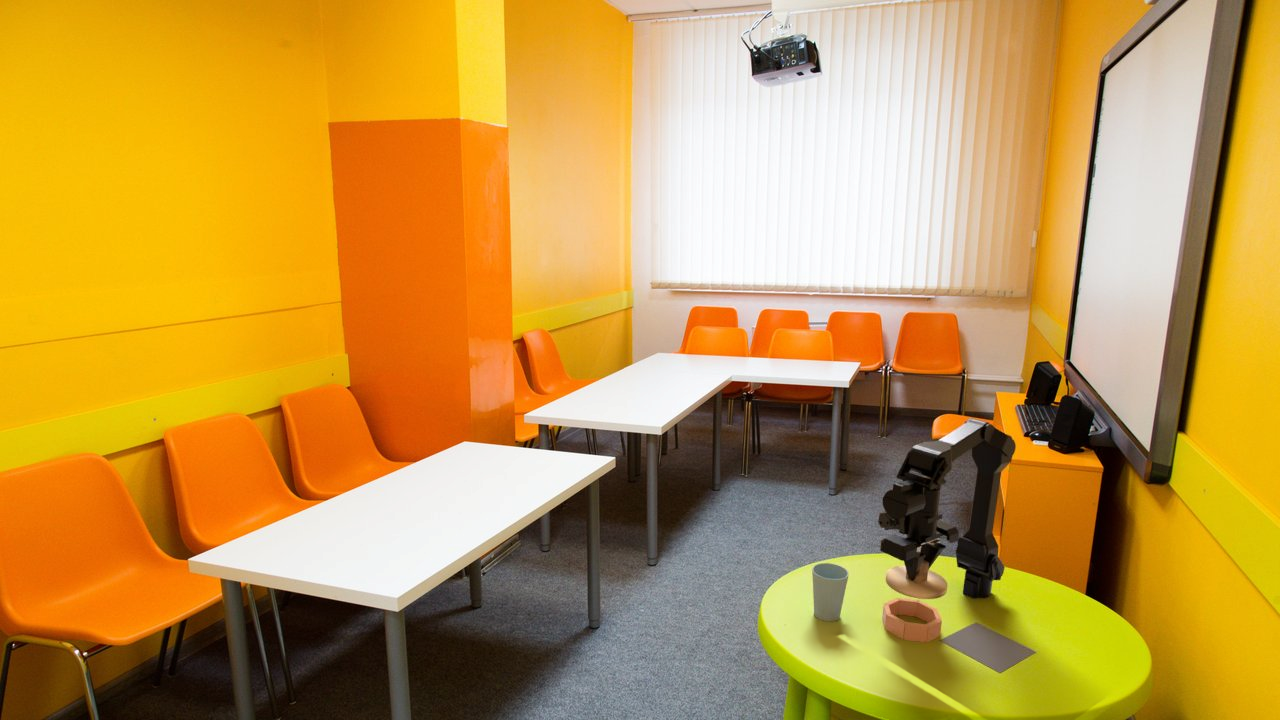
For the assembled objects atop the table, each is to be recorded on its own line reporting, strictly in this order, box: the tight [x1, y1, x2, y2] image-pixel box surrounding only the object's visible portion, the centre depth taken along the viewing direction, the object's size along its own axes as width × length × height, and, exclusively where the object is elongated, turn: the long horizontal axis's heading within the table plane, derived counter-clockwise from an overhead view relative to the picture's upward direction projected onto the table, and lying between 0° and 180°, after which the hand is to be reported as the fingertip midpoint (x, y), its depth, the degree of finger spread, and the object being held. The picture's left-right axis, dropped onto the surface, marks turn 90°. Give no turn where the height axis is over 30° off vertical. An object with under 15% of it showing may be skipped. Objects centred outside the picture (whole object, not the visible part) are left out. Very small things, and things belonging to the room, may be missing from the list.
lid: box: [885, 560, 948, 600], centre depth 154 cm, size 12×12×5 cm
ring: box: [881, 597, 943, 643], centre depth 157 cm, size 11×11×4 cm
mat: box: [939, 621, 1037, 674], centre depth 150 cm, size 13×13×1 cm
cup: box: [811, 562, 850, 622], centre depth 162 cm, size 8×8×10 cm
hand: (916, 577), depth 155 cm, fingers closed on lid, 3 cm apart
